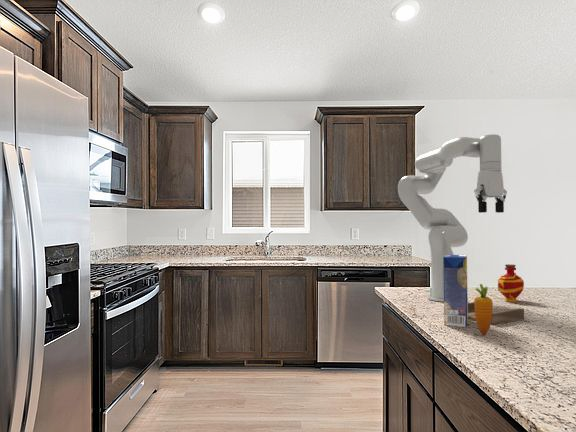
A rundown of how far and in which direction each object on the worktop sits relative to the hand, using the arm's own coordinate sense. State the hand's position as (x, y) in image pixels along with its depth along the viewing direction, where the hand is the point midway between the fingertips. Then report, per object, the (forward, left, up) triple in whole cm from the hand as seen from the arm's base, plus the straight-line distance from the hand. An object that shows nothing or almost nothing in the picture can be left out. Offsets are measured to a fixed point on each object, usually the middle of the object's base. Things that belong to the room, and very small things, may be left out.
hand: (491, 212), depth 167 cm
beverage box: (+8, -29, -37) cm, 48 cm away
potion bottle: (-8, +22, -37) cm, 44 cm away
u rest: (+8, -14, -37) cm, 40 cm away
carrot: (+24, -36, -37) cm, 57 cm away
